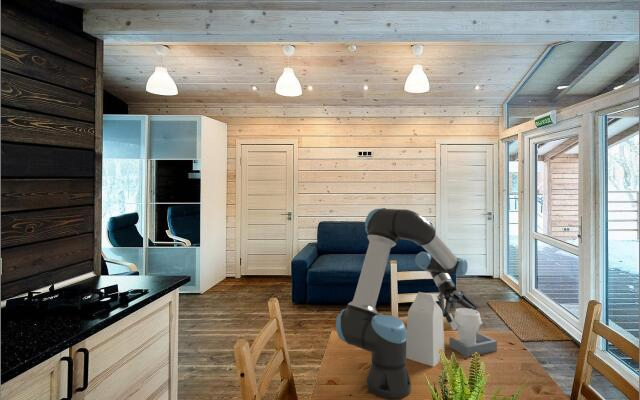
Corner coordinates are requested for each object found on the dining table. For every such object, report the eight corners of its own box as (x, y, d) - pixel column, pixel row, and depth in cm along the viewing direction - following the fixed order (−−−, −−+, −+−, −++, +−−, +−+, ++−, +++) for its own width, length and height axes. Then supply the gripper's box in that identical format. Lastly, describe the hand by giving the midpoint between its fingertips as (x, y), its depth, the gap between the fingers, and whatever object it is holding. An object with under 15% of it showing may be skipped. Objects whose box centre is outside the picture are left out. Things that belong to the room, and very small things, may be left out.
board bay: (467, 357, 147) (467, 347, 147) (449, 346, 157) (449, 337, 157) (496, 350, 153) (497, 341, 153) (477, 341, 163) (477, 332, 163)
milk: (444, 356, 148) (445, 293, 147) (433, 366, 139) (434, 299, 139) (416, 348, 156) (417, 288, 155) (404, 357, 147) (405, 294, 146)
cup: (475, 341, 163) (476, 307, 163) (483, 351, 152) (484, 316, 152) (451, 340, 164) (451, 307, 164) (457, 350, 153) (458, 315, 153)
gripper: (461, 285, 178) (485, 326, 165) (419, 291, 169) (440, 334, 156) (469, 277, 173) (495, 319, 160) (426, 282, 164) (449, 327, 151)
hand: (468, 327), depth 158 cm, fingers open, 13 cm apart
